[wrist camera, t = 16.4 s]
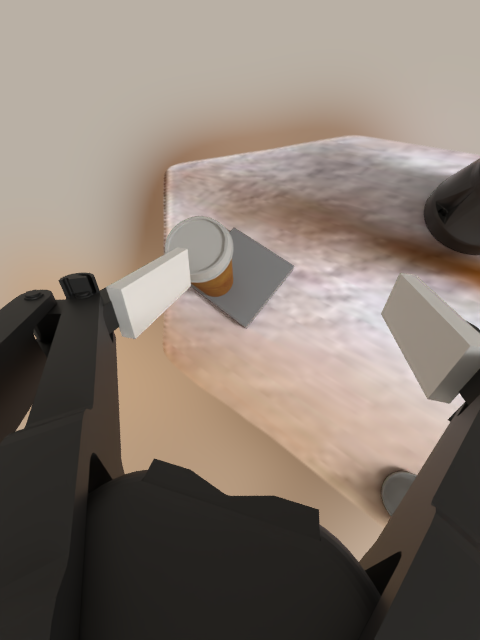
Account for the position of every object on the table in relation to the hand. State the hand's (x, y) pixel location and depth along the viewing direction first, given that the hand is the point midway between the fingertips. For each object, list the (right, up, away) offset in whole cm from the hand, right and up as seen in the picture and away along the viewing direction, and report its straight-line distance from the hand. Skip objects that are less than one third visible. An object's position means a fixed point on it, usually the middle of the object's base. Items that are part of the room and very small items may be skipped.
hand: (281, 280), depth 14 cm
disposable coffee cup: (-7, +5, +26) cm, 28 cm away
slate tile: (-3, +5, +27) cm, 28 cm away
